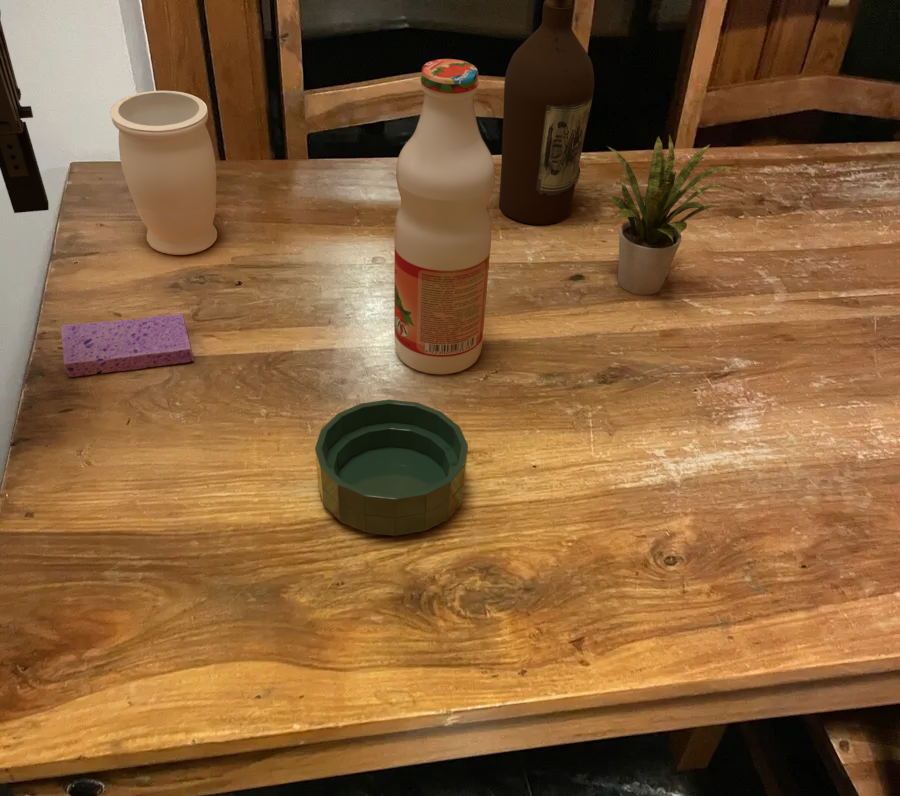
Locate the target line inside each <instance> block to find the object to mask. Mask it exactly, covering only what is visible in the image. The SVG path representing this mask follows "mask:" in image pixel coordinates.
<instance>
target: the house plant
mask: <svg viewBox="0 0 900 796" xmlns="http://www.w3.org/2000/svg"><path fill="white" fill-rule="evenodd" d="M671 137H672V136H671V134H669V135H668V154H667V159H666V157H665V153H664V150H663V141H662V140H661V139H660V135H658V136H657V138H656V141H655V143H654V147H653V152H652V158H651V164H650V169H649V173H648V178H647V187H646V191H645V197H644V199H643V197H642V194H641V191H640V187H639V184H638V181H637V177H636V176H635V173H634V171H633V168H632V167H631V166H630V164H629V162H628V161H627V160H626V159H625V158H624V157H623V155H621V154H620V153H619V152H618V150H616V149H615V148H613V147H610V146H608V145H606V147H607V148H608V149H609V150H610V151H611V152H612V153H613V155H614V156H615V157H616V158H617V160H618V161H619V163H620V164H621V166H622V168H623V170H624V172H625V174H626V175H625V174H623V173H622V172H620V174H621V175H622V176H623V178H624V179H625V180H626V181H627V182H628V184H629V186H630V187H631V190H632V192H633V195H634V197H635V200H636V203H637V206H638V209H639V210H638V209H637V207H636V204H635V202H634V200H633V198H632V196H631V194H630V192H629V190H628V188H627V186H626V184H625V183H624V182H623V181H622V180H621V179H619V184H620V186H621V193H622V197H623V199H622V198H621V197H618V196H614V195H611V196H606V197H605V199H606V198H607V199H608V201H609V202H611V203H612V204H613V205H615V206H616V207H617V208H618V209H619V210H618V212H617V213H616V215H615V216H614V217H613V219H615V218H617V217H618V218H627V220H628V221H625V222H623V223H622V225H621V226H620V228H619V234H618V235H619V236H618V237H619V238H618V267H617V269H618V270H617V271H618V274H617V282H618V285H619V286H620V287H621V288H622V289H624V290H625V291H627V292H630V293H632V294H634V295H641V296H643V295H644V296H646V295H653V294H656V293H658V292H659V291H660V290H661V289H662V287H663V285H664V282H665V279H666V277H667V275H668V272H669V270H670V267H671V265H672V263H673V262H674V259H675V256H676V254H677V252H678V249H679V247H680V244H681V242H682V235H681V233H682V232H683V231H685V230H686V229H687V227H688V224H687V220H689V219H690V218H692V217H694V216H695V215H697V214H698V213H701V212H703V211H705V210H707V212H710V210H709V209H712V208H716V209H717V208H722V206H721V205H715V204H708V205H703V204H702V203H700V202H697V201H691V200H693V199H694V198H695V197H696V196H698V195H699V194H701V195H705V193H704V192H705V191H707V190H709V189H713V188H726V186H725V185H720V184H708V185H704V186H703V187H701V188H699V187H697V186H695V185H696V184H697V183H699V182H700V181H702V180H703V179H705V178H707V177H709V176H711V175H713V174H715V173H717V172H720V171H723V170H724V171H725V170H726V171H727V170H737V169H741V168H740V167H736V166H726V165H725V166H724V165H723V166H715V167H711V168H709V169H707V170H705V171H703V172H701V173H699V174H698V175H696V176H695V177H694V178H693V179H692V180H690V181H689V183H688V184H687V185H686V186H685V187H684V188H683V189H682V190H681V188H682V187H683V186H684V184H685V183H686V181H687V180H688V178H689V177H690V175H691V174H692V173H693V172H694V170H695V169H696V168H697V166H698V165H699V163H700V162H701V161H702V160H703V159H704V157H703V155H704V154H705V153H706V152H707V151H708V150H709V148H710V147H711V145H712V144H707V145H706V146H704V147H701V148H700V149H699V150H697V152H695V154H694V155H692V157H691V158H690V159H689V161H688V162H687V163H686V164H685V166H684V167H683V168H682V169H681V171H680V172H679V173H678V175H676V174H677V171H674V168H675V163H676V162H677V161H679V160H680V158H677V159H676V158H675V149H674V143H673V142H674V141H673V140H672V138H671ZM675 159H676V160H675ZM680 190H681V191H680ZM690 190H693V191H695V192H693V193H692V194H691V195H690V196H689V197H688V198H687V199H686V200H685V201H684V202H683V203H682V204H681V205H679V206H678V207H676V208H675V209H673V210H672V208H673V207H674V206H675V205H676V204H677V203H678V201H679V200H680V199H681V198H682V197H684V195H685V194H687V192H688V191H690ZM689 209H695V210H693V211H691V212H689V213H688V214H687V215H685V216H684V217H683V218H681V219H680V220H676V221H673V222H671V221H672V220H673V219H674V218H675V217H676V216H677V215H680V214H681V213H683V212H684V211H687V210H689ZM671 210H672V211H671ZM639 211H640V213H639ZM670 211H671V212H670ZM640 214H641V215H640Z"/></svg>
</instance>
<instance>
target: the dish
mask: <svg viewBox="0 0 900 796" xmlns="http://www.w3.org/2000/svg"><path fill="white" fill-rule="evenodd" d="M468 452H469V444H468V442H467V440H466V438H465V435H464V433H463V431H462V429H461V427H460V426H459V425H458V424H457V423H456V422H454V421H453V420H452V419H451V418H449V417H448V415H446V414H445V413H443V412H442V411H441V410H438V409H435V408H432V407H430V406H428V405H424V404H422V403H420V402H415V401H407V400H397V399H382V400H376V401H375V400H374V401H367V402H361V403H359V404H356V405H354V406H352V407H350V408H347V409H345V410H342V411H340V412H338V413H337V414H335V415H334V416H333V417H332V418H331V419H330V420H329V421H328V422H327V423H326V424H325V425H323V427H322V428H321V429H320V432H319V434H318V438H317V441H316V444H315V447H314V454H315V464H316V465H315V466H316V478H317V487H318V490H319V494H320V497H321V501H322V504H323V506H324V507H326V509H327V510H328V511H329V512H330V513H331V514H332V515H333V516H334V517H335V518H336V519H337V520H338V521H339V522H340V523H343V524H345V525H347V526H350V527H351V528H354V529H356V530H358V531H361V532H363V533H366V534H372V535H373V534H375V535H381V536H382V535H384V536H392V537H398V536H404V535H409V534H415V533H421V532H426V531H428V530H429V529H431V528H434V527H435V526H438V525H440V524H441V523H443V522H446V521H447V520H449V518H451V516H452V514H454V512H456V510H457V508H458V507H459V506H460V505H461V503H462V502H463V500H464V493H465V485H466V480H467V479H466V478H467V467H468V466H467V465H468Z"/></svg>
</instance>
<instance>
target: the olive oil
mask: <svg viewBox="0 0 900 796" xmlns="http://www.w3.org/2000/svg"><path fill="white" fill-rule="evenodd" d="M573 1H574V0H544V1H543V5H542V16H541V18H542V19H541V24H540V25H539V27H538V28H536V30H535V31H534V32H533V33H532V34H531V35H530V36H529V37H528V38H527V39H526V40H525V41H524V42H523V43H521V45H520V46H519V47H518V48H517V49H516V50H515V52H514V53H513V55H512V56H511V58H510V61H509V63H508V66H507V68H506V72H505V76H504V83H503V84H504V85H503V86H504V87H503V114H502V117H503V118H502V140H501V141H502V143H501V144H502V145H501V162H500V163H501V165H500V166H501V167H500V182H499V183H500V184H499V199H498V206H499V209H500V210H501V212H502V213H503V214H504V215H505V216H506V217H508V218H510V219H511V220H514V221H515V222H519V223H522V224H527V225H535V226H544V225H551V224H552V225H553V224H557V223H559V222H561V221H563V220H565V219H566V218H567V217H568V216H569V215H570V213H571V211H572V205H573V199H574V194H575V188H576V184H577V183H578V182H579V179H580V175H581V168H580V161H581V156H582V152H583V146H584V142H585V137H586V132H587V126H588V122H589V116H590V111H591V107H592V102H593V97H594V92H595V73H594V66H593V62H592V60H591V57H590V56H589V54H588V52H587V51H586V49H585V48H584V46H583V44H582V43H581V42H580V40H579V38H578V37H577V35H576V34H575V33H574V31H573V28H572V21H573V13H574V8H575V7H574V6H575V3H574V2H573Z"/></svg>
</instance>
